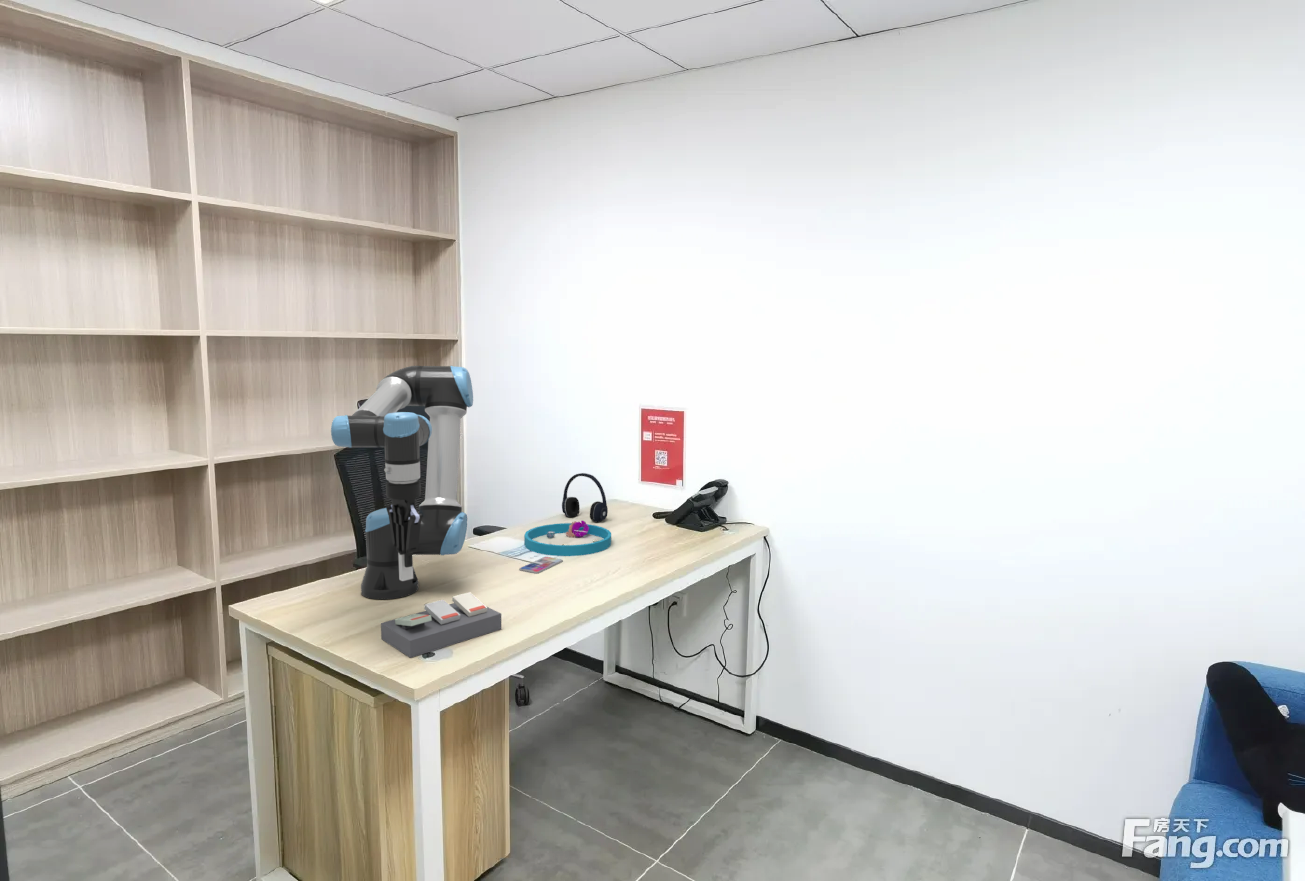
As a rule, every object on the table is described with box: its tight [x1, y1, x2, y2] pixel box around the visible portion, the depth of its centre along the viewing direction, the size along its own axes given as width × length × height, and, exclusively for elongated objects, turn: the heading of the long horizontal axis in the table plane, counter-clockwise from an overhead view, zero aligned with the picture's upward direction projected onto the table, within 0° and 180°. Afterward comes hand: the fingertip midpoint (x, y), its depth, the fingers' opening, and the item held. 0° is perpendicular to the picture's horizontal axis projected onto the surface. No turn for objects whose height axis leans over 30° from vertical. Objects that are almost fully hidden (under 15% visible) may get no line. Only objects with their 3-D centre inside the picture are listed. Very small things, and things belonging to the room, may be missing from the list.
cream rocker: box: [451, 591, 488, 617], centre depth 182 cm, size 8×5×1 cm, turn 46°
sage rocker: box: [394, 613, 432, 626], centre depth 171 cm, size 8×5×1 cm, turn 45°
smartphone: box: [518, 556, 564, 575], centre depth 232 cm, size 7×1×15 cm
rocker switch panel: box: [380, 602, 502, 659], centre depth 179 cm, size 19×24×5 cm
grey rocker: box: [423, 599, 460, 625], centre depth 177 cm, size 8×5×1 cm, turn 46°
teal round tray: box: [523, 520, 612, 557], centre depth 257 cm, size 30×30×6 cm
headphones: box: [561, 472, 609, 523], centre depth 290 cm, size 20×7×18 cm, turn 57°
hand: (406, 578), depth 173 cm, fingers closed
